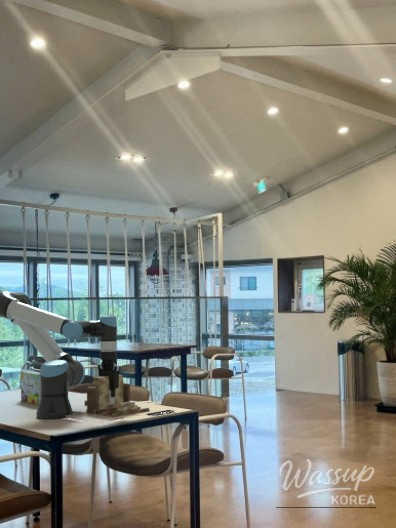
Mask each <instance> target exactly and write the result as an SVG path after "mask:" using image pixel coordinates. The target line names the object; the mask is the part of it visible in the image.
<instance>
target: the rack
mask: <svg viewBox="0 0 396 528" xmlns="http://www.w3.org/2000/svg"><path fill="white" fill-rule="evenodd" d="M86 400H87V406H86V410H85V412H84V414H87V415H88V414H89V415H95V416H101V417H108V418H115V417H122V416H128V415H129V416H130V415H134V414H139V413H140V414H141V413H146V412H150V411H151V410H150V408H149V407H145V408H141V406H138V410H131V411H125V412H119V413H116V410H118V407H115V408H109V409H102V410H98V388H97V387H94V386H87V387H86ZM128 401H131V383H127V382H123V402H128Z"/></svg>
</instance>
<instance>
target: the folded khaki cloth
mask: <svg viewBox="0 0 396 528" xmlns="http://www.w3.org/2000/svg"><path fill="white" fill-rule="evenodd" d="M123 383H124V375H123V374H119V388H116V389H115V404H113V405H109V389H110V384H109V376H101V377H99V376H94V377H93V387H97V388H98V410H102V409H109V408H115V407H116V403H120V402H123ZM112 387H113V386H112Z"/></svg>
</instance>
